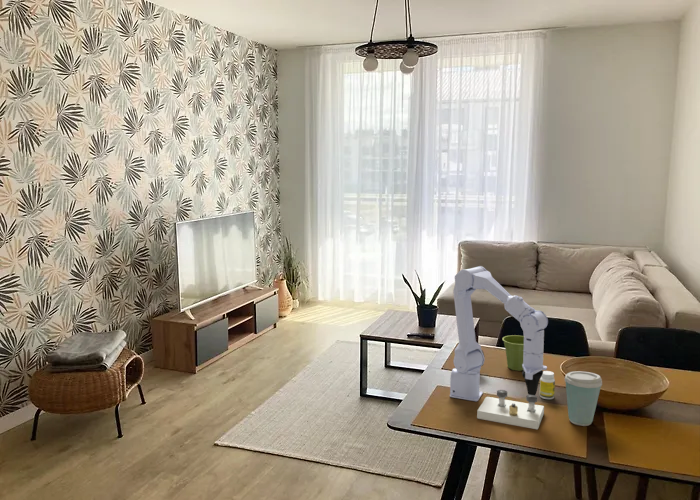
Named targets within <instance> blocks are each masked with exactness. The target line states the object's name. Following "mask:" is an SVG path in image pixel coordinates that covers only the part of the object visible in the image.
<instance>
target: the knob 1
mask: <svg viewBox="0 0 700 500" xmlns="http://www.w3.org/2000/svg"><path fill="white" fill-rule="evenodd" d="M496 396H497V398H499V405H500V406H505V400H506V398H507V397H508V391H507V390H505V389H498V390H496Z"/></svg>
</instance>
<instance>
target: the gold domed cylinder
mask: <svg viewBox="0 0 700 500" xmlns="http://www.w3.org/2000/svg"><path fill="white" fill-rule="evenodd" d="M517 413H518V407H517V406H515V404H512V405H510V406H509V414H510V415H511V416H517Z"/></svg>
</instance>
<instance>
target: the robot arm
mask: <svg viewBox="0 0 700 500" xmlns="http://www.w3.org/2000/svg"><path fill="white" fill-rule="evenodd" d="M476 290H485V291H487V292H488V293H489V294H490V295H492V296H493V297H495V298H496V300H499V301H500V302H501V303H502V304H504V305H503V307H504V310H505V311H506V312H507V313H509V315H511V316H512V317H513V318H514V319H515V320H517V321H518V322H519V324H520V327H521V329H522V331H523V332H522V333H523V335H522V336H524V352H523V365H522V367H523V369H524V370H522V372H521V375H522V378H523V379H524V382H525V385H526V391H527V395H536V396H537V391H538V387H539V385H540V378H541V376H542V374H543V371H548V370H547V369H548V366H547V365H544V345H545V343H544V341H545V329H546V328H547V326H548V324H549V319H548V316H547V315H546V313H544V311H542V310H536V309H535V308H534V307H531V305H529V303H527V302H526V301H525V300H524V298H523V297H522V296H519V295H515V294H514V295H512V294H511V293H509V292H508V291H507V290H506V289H505V288H504V287H503V286H502V285H501V284H500V283H499V282H498V281H497V280H496V279H495V278H494V277H493V275H492V273H491V271H489V270H487V269H486V268H485V267H484V266H483V265H479V266H475V267H471V268H467V269H465V268H463V269H460V270H459V271H458V272H457V273H456V274H455V275H454V286H453V300H454V310H455V318H456V327H457V335H458V344H457V346H456V347H455V348H454V357H453V361H452V362H453V365H454V368H452V370H451V372H450V382H449V383H450V384H449V385H450V386H449V397H450V398H455V399H461V400H465V401H472V402H478V401H479V400H480V398H481V397H482V395H483V393H484V392H483V391H481V390H480V387H481V386H480V382H481V380H480V377H481V373H480V372H481V369H482V367H483V366H484V365H483V364H485V354H484V355H483V353H482V350H483V349H482V347H481V344H480V343H478V342H477V341H476V332H475V323H474V315H473V305H472V298H471V296H472V295H473V293H474V292H475V291H476ZM481 349H482V350H481ZM482 365H483V366H482Z"/></svg>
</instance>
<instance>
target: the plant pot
mask: <svg viewBox="0 0 700 500" xmlns="http://www.w3.org/2000/svg"><path fill="white" fill-rule="evenodd" d="M502 341H503V344H504V349H505V356H506V364H507V368H508V369H510V370H512V371H517V372H518V371H519V372H521V371H522V372H523V371H524V369H523V367H522V365H523V352H524V336H523V335H519V334H518V335H516V334H514V335H513V334H512V335H505V336H503V337H502Z"/></svg>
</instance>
